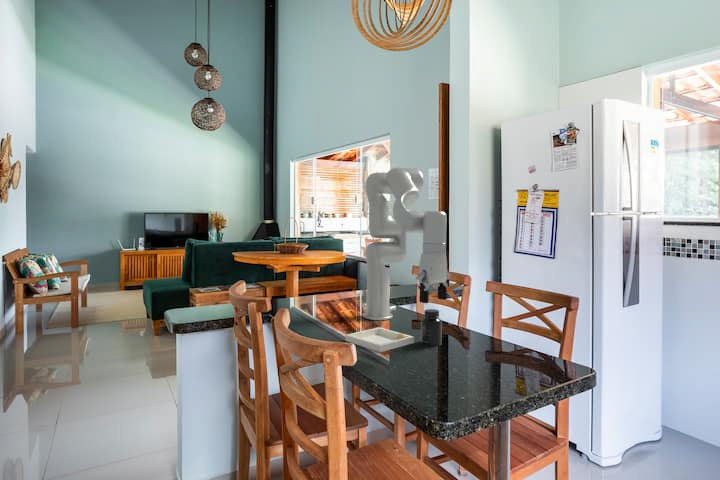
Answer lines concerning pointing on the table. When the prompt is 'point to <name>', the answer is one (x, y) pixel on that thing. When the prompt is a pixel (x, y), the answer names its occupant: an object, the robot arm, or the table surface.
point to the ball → (400, 336)
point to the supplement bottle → (431, 328)
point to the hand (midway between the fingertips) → (433, 300)
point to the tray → (379, 339)
